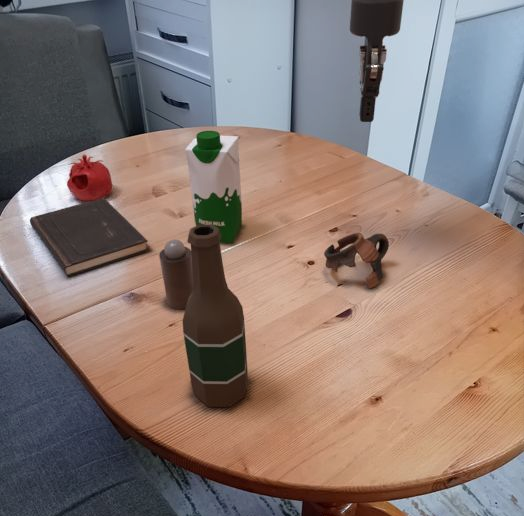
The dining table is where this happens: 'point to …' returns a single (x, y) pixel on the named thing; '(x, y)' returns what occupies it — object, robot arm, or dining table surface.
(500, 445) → the dining table surface
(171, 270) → the roll-on deodorant
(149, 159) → the dining table surface
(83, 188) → the pomegranate
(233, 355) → the beer bottle
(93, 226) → the hardcover book
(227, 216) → the milk carton
